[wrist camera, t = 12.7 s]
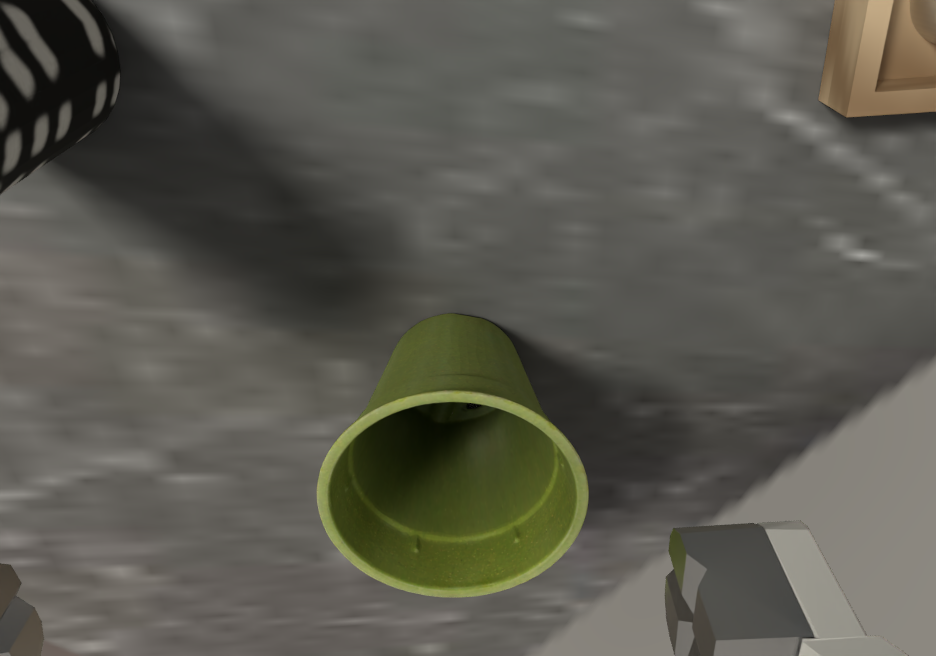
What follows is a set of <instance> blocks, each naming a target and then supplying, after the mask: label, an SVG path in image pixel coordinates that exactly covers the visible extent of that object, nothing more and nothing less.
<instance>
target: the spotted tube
mask: <svg viewBox="0 0 936 656" xmlns="http://www.w3.org/2000/svg"><path fill="white" fill-rule="evenodd" d="M119 84H120V66H119V58H118V52H117V49H116V46H115V43H114V39H113V36H112V33H111V31H110V30H109V28H108V26H107V24H106V22H105V20H104V18H103V16H102V14H101V13H100V12H99V10H98V9H97V7H96V6H95V5H94V3H93V2H92V1H91V0H0V194H2V193H3V192H5V191H6V190H8V189H9V188H11V187H12V186H14V185H15V184H17V183H18V182H20V181H21V180H23V179H24V178H25V177H27V176H28V175H30V174H31V173H33V172H34V171H36V170H37V169H39V168H40V167H42V166H43V165H45V164H46V163H48V162H49V161H51V160H52V159H53V158H55V157H56V156H58V155H59V154H61V153H62V152H64V151H65V150H67V149H68V148H70V147H71V146H73V145H74V144H76V143H77V142H79V141H80V140H81V139H83V138H84V137H86V136H87V135H89V134H90V133H92V132H93V131H95V130H96V129H97V128H98V127H99V126H100V125H101V124H102V123H103V122H104V121H105V120H106V119H107V117H108V115H109V114H110V112H111V110H112V108H113V107H114V105H115V102H116V98H117V95H118V91H119Z"/></svg>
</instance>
